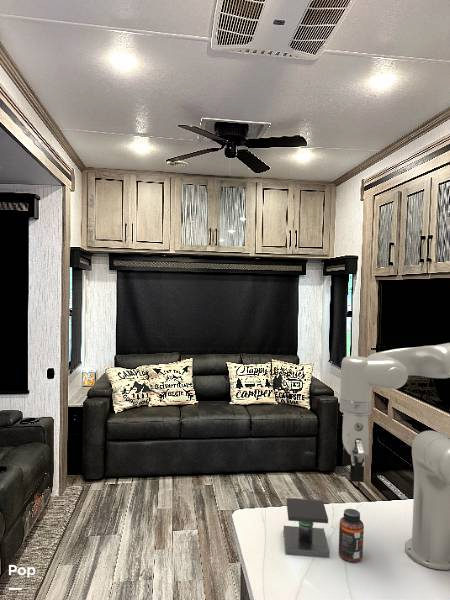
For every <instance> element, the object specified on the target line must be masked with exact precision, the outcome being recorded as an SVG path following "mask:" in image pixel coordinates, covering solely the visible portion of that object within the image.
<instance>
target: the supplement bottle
mask: <svg viewBox="0 0 450 600" xmlns="http://www.w3.org/2000/svg"><path fill="white" fill-rule="evenodd" d="M338 524H339V525H338V527H339V528H338V530H339V531H338V555H339V557H341V558H342V559H343V560H345V561H348V562H353V563H357V562H360V561H362V559H363V555H364V533H365V531H364V527H365V525H364V522H363V520H361V512H360V511H358V510H357V509H355V508H345V509H344V511H343V516H342V517H341V518H340V520H339V523H338Z"/></svg>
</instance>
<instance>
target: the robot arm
mask: <svg viewBox="0 0 450 600" xmlns="http://www.w3.org/2000/svg"><path fill="white" fill-rule="evenodd" d="M340 368H341V369H340V391H339V395H340V397H339V412H341V413H343V415H342V434H341V436H342V437H341V439H342V444H343V447H342V448H343V450H342V465H343V466H349V480H350V482H353V483H356V482H357V483H364V480H365V479H364V478H365V458H364V456H366V457H368V456H369V454H370V448H369V447H370V441H369V438H370V437H369V436H370V434H369V432H370V431H369V430H370V429H369V416H370V415H371V413H372V389H373V387H374V388H378V389H379V388H381V389H385V390H397V389H400V388H401V387H403V386H404V385H406V383H407V381H408V379H409V376H417V377H419V376H420V377H426V378H433V379H449V378H450V342H447V343H442V344H441V343H440V344H436V345H434V344H433V345H423V346H416V347H415V346H414V347H403V348H394V349H389V350H384V351H379V352H374V353H372V354H369V355H368V356H367V357H365V356H357V355H353V356H352V355H348V356H344V357H343V358H342V361H341V367H340ZM411 457H412V458H411V459H412V466H413V478H414V479H413V505H412V528H411V530H412V531H411V532H412V533H411V538H409V539H408V540H406V541H405V544H404V545H405V546H404V549H405V552H406V554H407V555H408V557H409V558H411V559H412V560H413V561H415V562H416V563H418V564H420V565H421V566H424V567H426V568H430V569H435V570H439V571H447V570H448V571H449V570H450V437H448V436H447V435H445V434H443V433H440V432H439V431H435V430H424V431H421V432H420V433H419V434H417V436H416V437H415V438H414V440H413V441H412V446H411Z"/></svg>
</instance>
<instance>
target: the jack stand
mask: <svg viewBox="0 0 450 600" xmlns="http://www.w3.org/2000/svg"><path fill="white" fill-rule="evenodd" d="M285 502H286V503H285V504H286V511H287V512H286V513H287V520H288V522H290V521H291V522H298V526H294V525H283V539H284V541H283V542H284V552H285V555H287V556H298V557H299V556H303V557H314V558H326V559H327V558H328V559H330V553H331V552H330V548H329V544H328V540H327V536H326V533H325V528H324V527H322V528H321V527H319V528H318V527H314V524H315V523H317V524H329V517H328V513H327V510H326V506H325V502H324V500H320V499H319V500H318V499H317V500H316V499H304V498H303V499H301V498H286V501H285Z"/></svg>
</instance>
